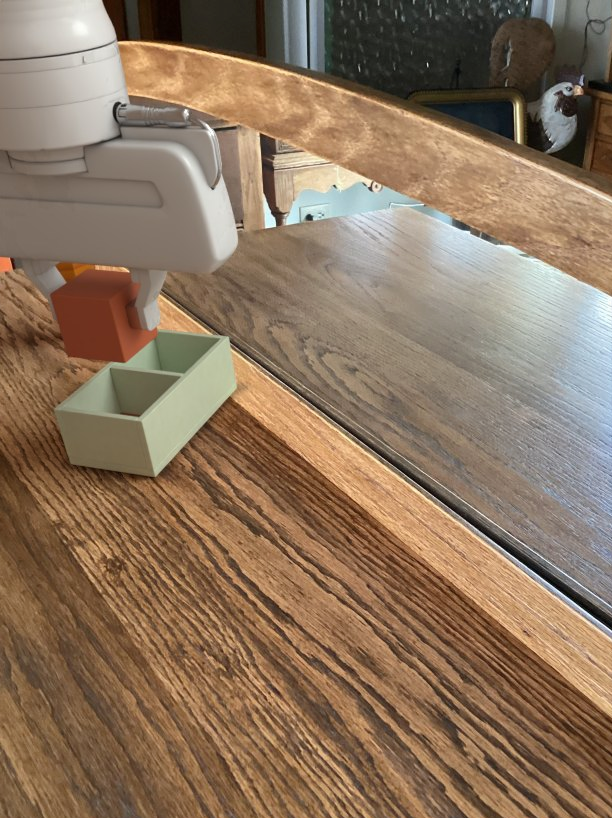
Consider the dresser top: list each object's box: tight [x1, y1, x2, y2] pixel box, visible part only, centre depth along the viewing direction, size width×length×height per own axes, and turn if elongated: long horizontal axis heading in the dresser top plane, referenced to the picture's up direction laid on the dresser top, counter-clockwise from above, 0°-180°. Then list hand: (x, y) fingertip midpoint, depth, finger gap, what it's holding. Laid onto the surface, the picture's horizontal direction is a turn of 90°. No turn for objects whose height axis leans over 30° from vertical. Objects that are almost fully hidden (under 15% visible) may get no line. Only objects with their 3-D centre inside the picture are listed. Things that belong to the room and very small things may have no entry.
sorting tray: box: [53, 328, 238, 478], centre depth 68 cm, size 7×14×5 cm, turn 163°
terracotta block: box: [50, 268, 158, 363], centre depth 60 cm, size 4×4×4 cm
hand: (107, 322), depth 61 cm, fingers closed on terracotta block, 4 cm apart
